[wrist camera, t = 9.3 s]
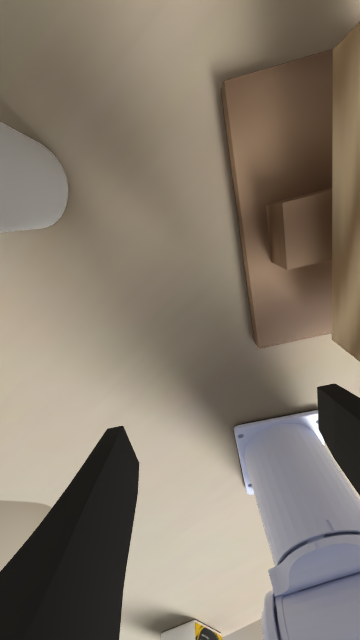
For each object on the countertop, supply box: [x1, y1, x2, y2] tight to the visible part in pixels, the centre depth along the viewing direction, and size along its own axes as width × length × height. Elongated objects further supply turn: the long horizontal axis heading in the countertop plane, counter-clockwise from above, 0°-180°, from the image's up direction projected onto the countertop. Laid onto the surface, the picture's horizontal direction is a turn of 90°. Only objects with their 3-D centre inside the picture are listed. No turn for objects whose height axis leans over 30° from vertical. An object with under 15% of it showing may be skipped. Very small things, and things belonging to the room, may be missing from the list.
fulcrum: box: [221, 49, 333, 348], centre depth 15 cm, size 16×12×4 cm
